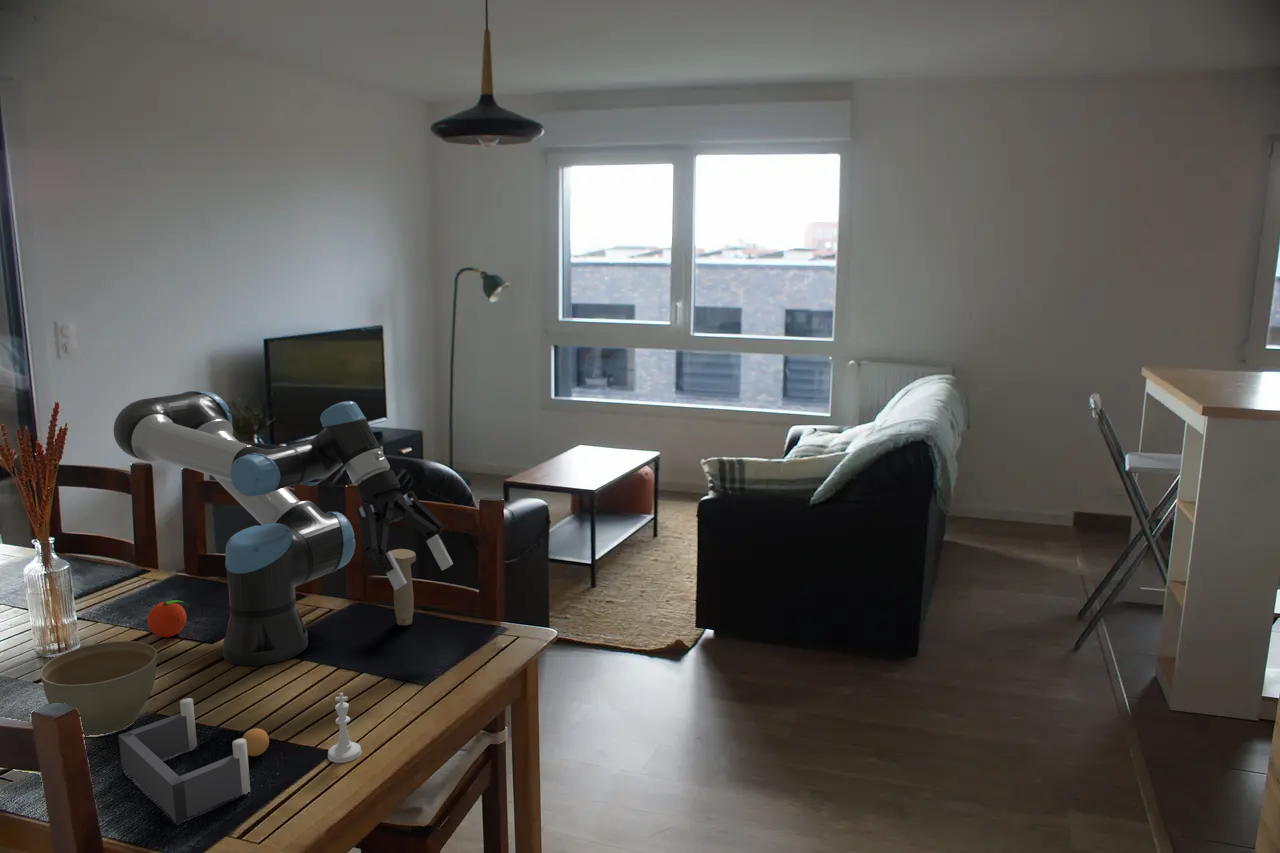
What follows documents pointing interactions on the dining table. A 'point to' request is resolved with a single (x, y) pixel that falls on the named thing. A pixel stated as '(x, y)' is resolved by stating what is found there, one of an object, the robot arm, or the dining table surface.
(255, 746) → the ball
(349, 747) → the chess piece
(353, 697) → the dining table surface
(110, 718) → the planter bowl
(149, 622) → the clementine
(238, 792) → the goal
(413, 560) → the handle
